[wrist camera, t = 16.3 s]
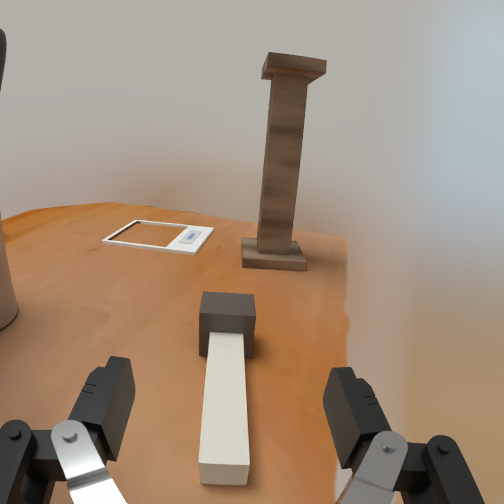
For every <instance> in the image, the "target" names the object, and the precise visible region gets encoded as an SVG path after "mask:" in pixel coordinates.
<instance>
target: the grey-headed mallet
mask: <svg viewBox="0 0 504 504" xmlns="http://www.w3.org/2000/svg"><path fill="white" fill-rule="evenodd" d="M255 321H256V311H255V302H254V295H253V294H235V293H218V292H203V295H202V300H201V306H200V312H199V356H207V357H208V358H207V369H206V379H205V390H204V402H203V413H202V426H201V438H200V452H199V474H200V483H201V484H218V485H246V484H247V478H248V473H249V467H250V458H249V441H248V422H247V404H246V384H245V364H244V358H248V359H251V357H252V348H253V339H254V330H255Z"/></svg>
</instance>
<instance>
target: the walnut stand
mask: <svg viewBox="0 0 504 504" xmlns="http://www.w3.org/2000/svg"><path fill="white" fill-rule="evenodd" d="M326 62H327V61H326V60H322V59H316V58H310V57H303V56H296V55H289V54H281V53H272V52H269V53H268V55H267V58H266V60H265V63H264V65H263V68H262V76H261V79H266V80H271V90H270V101H269V112H268V123H267V135H266V146H265V157H264V168H263V179H262V190H261V201H260V211H259V222H258V233H257V238H243V237H242V245H241V246H242V267H246V268H263V269H281V270H299V271H306V265H307V261H306V259H305V257H304V255H303V253H302V251H301V249H300V247H299V245H298V243H297V242H296V241H291V236H292V228H293V220H294V212H295V204H296V195H297V186H298V178H299V168H300V159H301V150H302V140H303V129H304V119H305V108H306V97H307V86H308V84H310V83H311V82H313V81H314V80H316V79H318V78H319V77H321V76H322V75H324V74H325V73H326Z"/></svg>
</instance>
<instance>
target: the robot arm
mask: <svg viewBox="0 0 504 504" xmlns="http://www.w3.org/2000/svg"><path fill="white" fill-rule="evenodd" d="M5 57H6V36H5V33H4V32H3V30H2V29H0V90H1V84H2V78H3V71H4V65H5ZM17 312H18V306H17V302H16V298H15V294H14V290H13V285H12V281H11V275H10V271H9V266H8V260H7V255H6V249H5V243H4V237H3V230H2V222H1V213H0V329H2V328H3V327H5V326H6V325H8V324H9V323H10V322H11V321H12V320H13V319H14V318H15V316H16V314H17ZM81 391H82V392H80V395H79V397H78V399H77V401H76V403H75V405H74V407H73V409H72V412H71V414H70V416H69V418H68V420H65V421H62V422H60V423H58V424H57V425H56V426H55V427H54V428H53V429H52V430H31V429H30V427H29V425H28V424H27V423H25V422H24V421H21V420H11V421H8V422H6V423H5V424H4V425H3V426H2V427H1V429H0V504H49V503H50V499H51V496H52V492H53V488H54V485H55V481H68V483H67V487H68V490H69V492H70V494H71V496H72V499H73V501H74V503H75V504H126V502H125V501H124V499H123V497H122V496H121V494H120V492H119V491H118V489H117V487H116V485H115V484H114V482H113V480H112V478H111V477H110V475H109V473H108V471H107V470H106V468H105V466H106V463H107V460H110V461H115V462H116V461H117V457H118V453H119V450H120V446H121V443H122V439H123V435H124V432H125V429H126V425H127V422H128V418H129V415H130V412H131V408H132V405H133V402H134V398H135V383H134V378H133V373H132V367H131V362H130V359H129V358H123V357H115V356H111V357H110V358H109V360H108V362H107V364H106V366H105V367H97V368H96V369H95V370H94V371H92V372H91V373H90V374H89V376H88V378H87V380H86V382H85V385H84V386H83V388H82V390H81ZM323 406H324V410H325V413H326V417H327V420H328V424H329V427H330V430H331V434H332V437H333V441H334V444H335V448H336V451H337V454H338V458H339V461H340V465H341V468H342V469H348V468H351V469H352V472H353V474H352V476H351V477H350V479H349V481H348V483H347V485H346V486H345V488H344V490H343V492H342V493H341V495H340V497H339V498H338V500H337V502H336V503H335V504H391V501H392V499H393V497H394V491H400V492H401V496H402V499H403V502H404V504H485V503H484V501H483V498H482V496H481V494H480V492H479V489H478V487H477V485H476V483H475V481H474V479H473V476H472V474H471V472H470V470H469V468H468V466H467V464H466V461H465V459H464V457H463V455H462V453H461V451H460V449H459V447H458V445H457V443H456V442H455V441H454V440H453V439H452V438H450V437H448V436H444V435H437V436H435V437H433V438H431V439H430V440H429V442H428V443H427V444H422V443H410V442H407V441H406V440H405V438H404V437H402V436H401V435H400V434H398V433H396V432H393V431H392V430H391V428H390V426H389V424H388V421H387V419H386V417H385V415H384V413H383V411H382V409H381V407H380V405H379V402H378V400H377V398H376V397H375V394H374V392H373V390H372V387H371V386H370V385H369V384H368V383H367V382H366V381H365V380H364V379H362V378H358V379H357V378H356V376H355V374H354V372H353V370H352V368H351V367H337V368H332V369H331V372H330V375H329V378H328V382H327V385H326V388H325V392H324V396H323Z"/></svg>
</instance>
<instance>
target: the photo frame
mask: <svg viewBox="0 0 504 504" xmlns="http://www.w3.org/2000/svg"><path fill="white" fill-rule="evenodd" d="M135 222H140V223H141V224H151V225H161V226H170V227H180V228H186V229H185V230H184V231H183V232H182V233H181V234H180V235H179V236H178V237H177V238H176V239H174V240H173V241H172V242H171V243H170V244H169V245H168V246H167V247H159V246H151V245H143V244H135V243H127V242H119V241H111V240H108V239H110V238H111V237H113V236H114V235H116V234H118V233H119V232H121V231H122V230H124V229H125V228H127V227H129V226H130V225H132V224H133V223H135ZM213 231H214V228H210V227H200V226H191V225H182V224H172V223H162V222H152V221H142V220H135V221H133V222H131V223H130V224H128V225H126V226H125V227H123V228H121V229H120V230H118V231H117V232H115V233H113V234H112V235H110V236H109V237H107V238H105V239H104V240H102V244H110V245H117V246H125V247H133V248H141V249H148V250H156V251H164V252H172V253H180V254H188V255H195V254H196V253H197V252H198V250H199V249H200V248H201V247H202V245H203V244H204V243H205V241H206V240H207V239H208V237H209V236H210V235H211V234H212V232H213Z"/></svg>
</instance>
